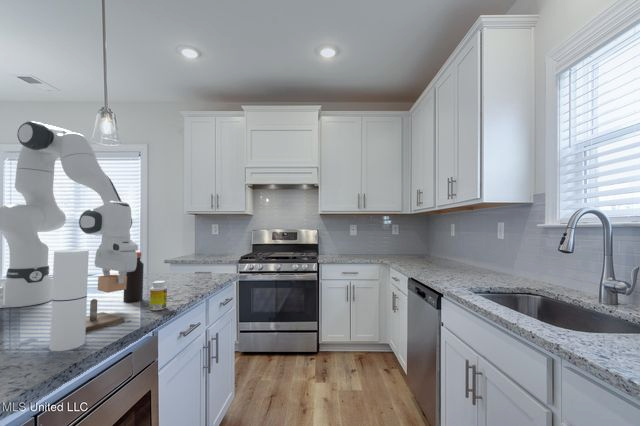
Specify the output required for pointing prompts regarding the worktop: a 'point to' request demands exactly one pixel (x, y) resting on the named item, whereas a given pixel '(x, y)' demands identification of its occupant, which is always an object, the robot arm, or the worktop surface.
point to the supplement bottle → (158, 296)
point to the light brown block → (111, 283)
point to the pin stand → (100, 318)
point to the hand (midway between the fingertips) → (113, 281)
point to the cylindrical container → (69, 299)
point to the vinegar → (134, 283)
